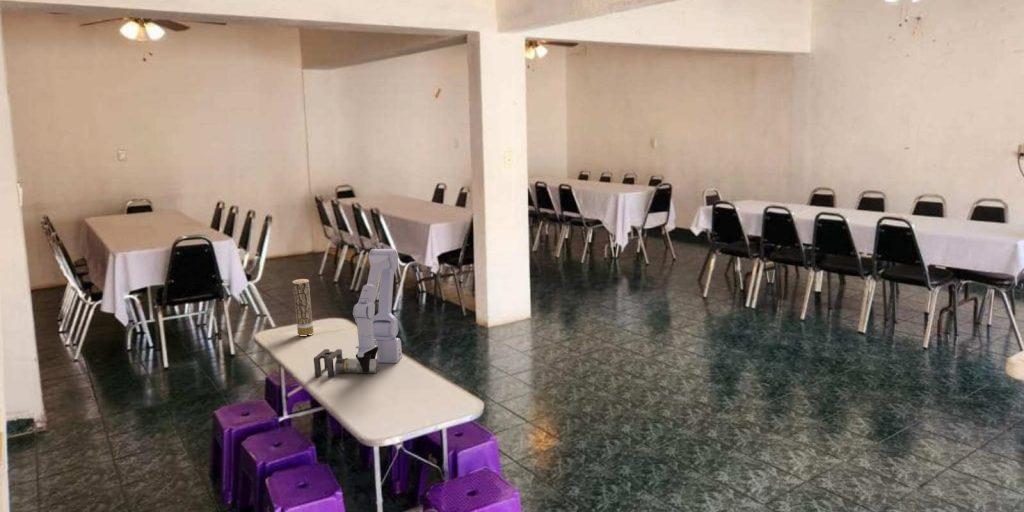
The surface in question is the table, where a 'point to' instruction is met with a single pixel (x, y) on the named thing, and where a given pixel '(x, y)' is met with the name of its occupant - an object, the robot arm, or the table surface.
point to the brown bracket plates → (326, 361)
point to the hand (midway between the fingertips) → (368, 369)
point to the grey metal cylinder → (354, 366)
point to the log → (303, 306)
